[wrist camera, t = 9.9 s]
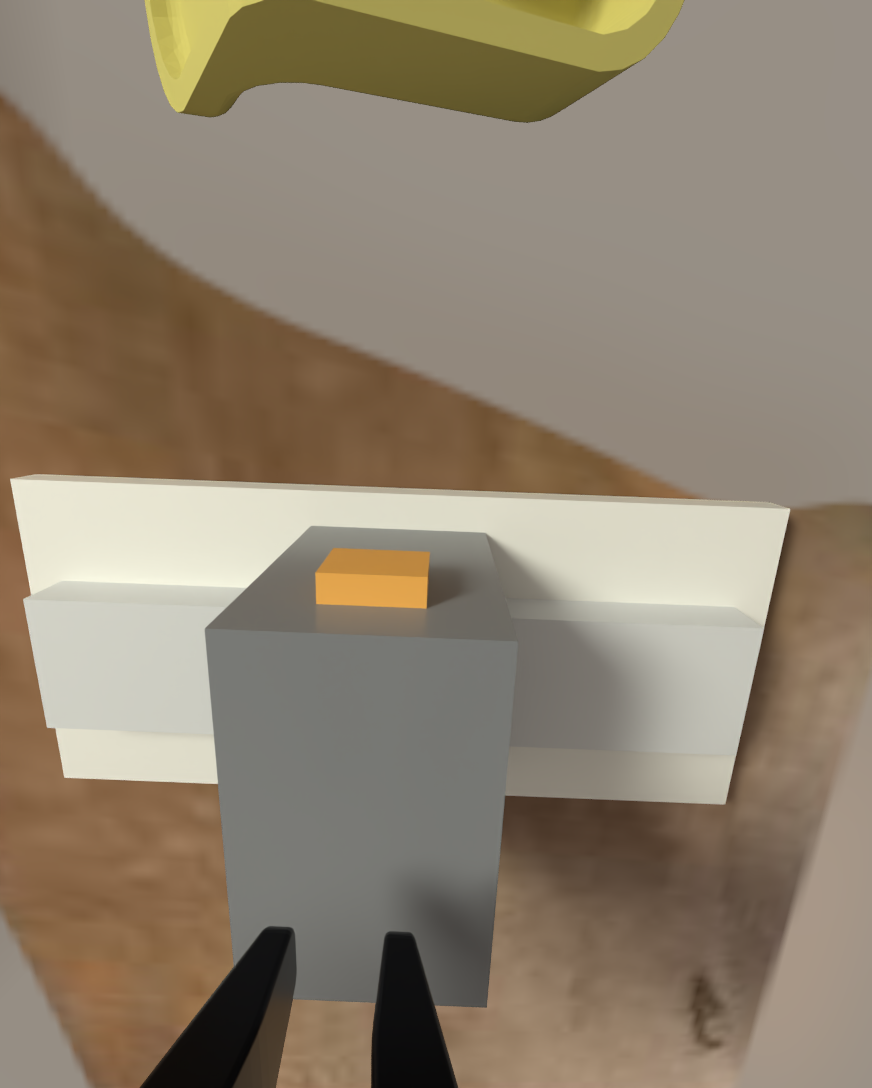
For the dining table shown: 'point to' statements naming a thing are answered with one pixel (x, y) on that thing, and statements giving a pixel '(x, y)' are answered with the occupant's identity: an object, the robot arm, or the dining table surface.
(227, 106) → the plastic component
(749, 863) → the dining table surface
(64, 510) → the rail plate
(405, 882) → the din module
